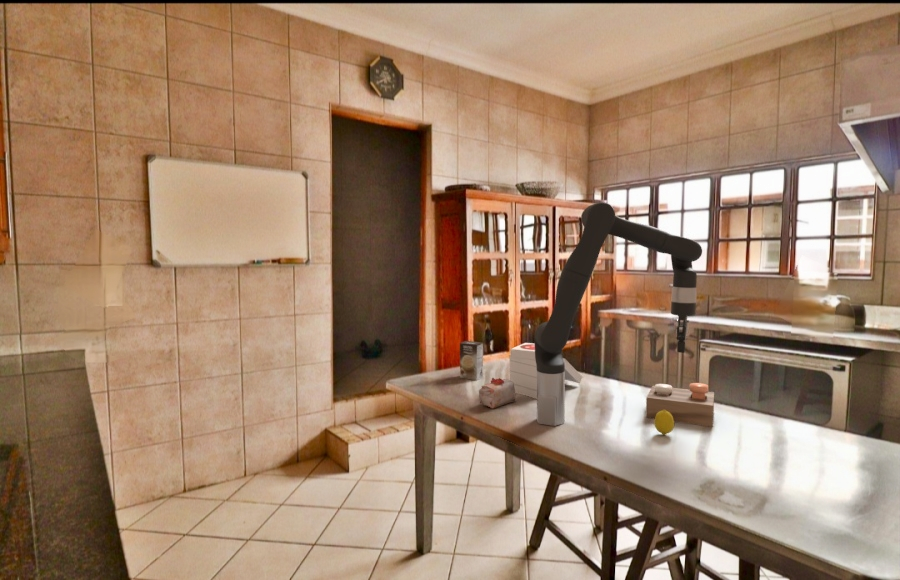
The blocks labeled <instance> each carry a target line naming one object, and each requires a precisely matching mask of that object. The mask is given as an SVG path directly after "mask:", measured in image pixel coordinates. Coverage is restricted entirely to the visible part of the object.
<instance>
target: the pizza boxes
mask: <svg viewBox="0 0 900 580" xmlns="http://www.w3.org/2000/svg"><path fill="white" fill-rule="evenodd" d="M509 351H510V354H509V355H508V356H509V380H511V381H512V382H514V388H515V394H520V395H523V396H525V395H526V396H525V397H528V396H529V398H532V397H533V398H532V399H535V398H536V399H535V400H537V366H536V360H535V342H534V343H533V342H531V343H530V342H524V343H521V344H519V345H517V346H515V347H512V348H510V349H509ZM563 361H564V364H565V381H569V382H573V383H577V384H580V383H581V381H582V379H583V376H582V375H581V374H580V372H578V370H576V369H575V367H574V366H573V365H572V364H571V363H570V362H569V361H568V360H567V359H566V358H564V357H563Z"/></svg>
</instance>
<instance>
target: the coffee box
mask: <svg viewBox="0 0 900 580" xmlns="http://www.w3.org/2000/svg"><path fill="white" fill-rule="evenodd" d="M459 378H460V379H466V380H473V381H478V380H480V379H482V378H484V342H479V341H473V340H465V341H462V342H459Z"/></svg>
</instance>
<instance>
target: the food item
mask: <svg viewBox="0 0 900 580" xmlns="http://www.w3.org/2000/svg"><path fill="white" fill-rule="evenodd" d="M478 402H479V403H480V404H482V405H484V406H485V407H487V406H488V407H487V408H489V407H490V408H489V409H492V410H493V408H494V409H497V408H499V407H501V406H504V405H508V404H510V403H513V402H516V392H515V388H514V382H512V381H511V380H510V378H503V379H501V378H500V377H499V378H494V377H493V376H492V378H491V380H490V382H489V383H486V384H484V385H481V388H480V389H478Z"/></svg>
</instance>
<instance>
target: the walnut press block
mask: <svg viewBox="0 0 900 580" xmlns="http://www.w3.org/2000/svg"><path fill="white" fill-rule="evenodd" d="M645 402H646V407H645V408H646V411H645V415H646V416H645V418H647V419H654V420H655V416H656V414H657V413H658V412H659V411H663V410H666V411H668V412H669V413H670V414H671V415H672V416H673V419H674V423H675V422H676V423H682V424H687V425H688V424H689V425H698V426H704V427H711V428H712V427H713V425H714V414H715V411H714V410H715V404H714V403H715V392H714V391H708V393H705V400H704V399H695V398H692V392H691V391H690V389H686V388H677V387H672V393H671V394H670V396H669V395H661V394H657V392H655V385H652V386H651V387H650V390H649V391H648V394H647V396H646V401H645Z"/></svg>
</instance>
